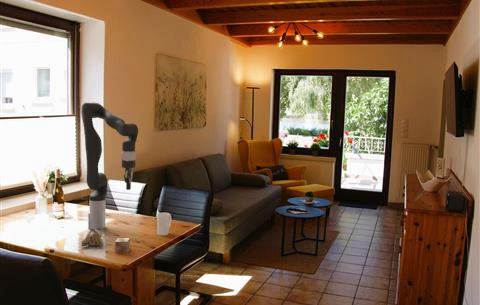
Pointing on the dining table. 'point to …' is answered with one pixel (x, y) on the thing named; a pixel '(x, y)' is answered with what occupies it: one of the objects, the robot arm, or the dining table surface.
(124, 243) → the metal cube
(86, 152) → the robot arm
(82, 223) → the dining table surface
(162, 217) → the mug
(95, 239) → the ceramic sculpture
